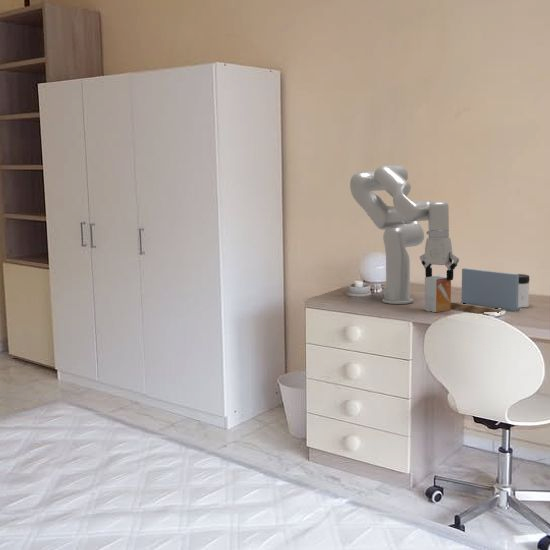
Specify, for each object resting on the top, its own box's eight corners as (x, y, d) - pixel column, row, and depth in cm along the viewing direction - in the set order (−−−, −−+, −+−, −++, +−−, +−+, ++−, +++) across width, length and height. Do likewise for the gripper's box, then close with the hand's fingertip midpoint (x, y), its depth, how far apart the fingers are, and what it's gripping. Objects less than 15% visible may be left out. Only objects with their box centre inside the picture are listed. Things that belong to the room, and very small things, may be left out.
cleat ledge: (443, 307, 280) (443, 301, 280) (445, 307, 281) (445, 300, 281) (498, 316, 262) (498, 310, 262) (500, 316, 263) (500, 309, 263)
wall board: (461, 303, 288) (461, 268, 286) (465, 302, 290) (466, 267, 288) (515, 311, 270) (516, 274, 268) (519, 310, 272) (520, 273, 270)
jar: (512, 308, 275) (513, 277, 273) (501, 304, 283) (502, 274, 281) (533, 307, 277) (534, 276, 275) (522, 303, 285) (522, 273, 283)
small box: (436, 313, 271) (436, 279, 269) (424, 310, 277) (424, 277, 274) (451, 310, 276) (451, 276, 274) (438, 307, 281) (439, 274, 279)
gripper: (414, 234, 275) (414, 278, 278) (452, 236, 262) (452, 282, 265) (426, 233, 280) (426, 276, 282) (463, 234, 267) (464, 279, 269)
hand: (439, 279), depth 274 cm, fingers open, 9 cm apart
